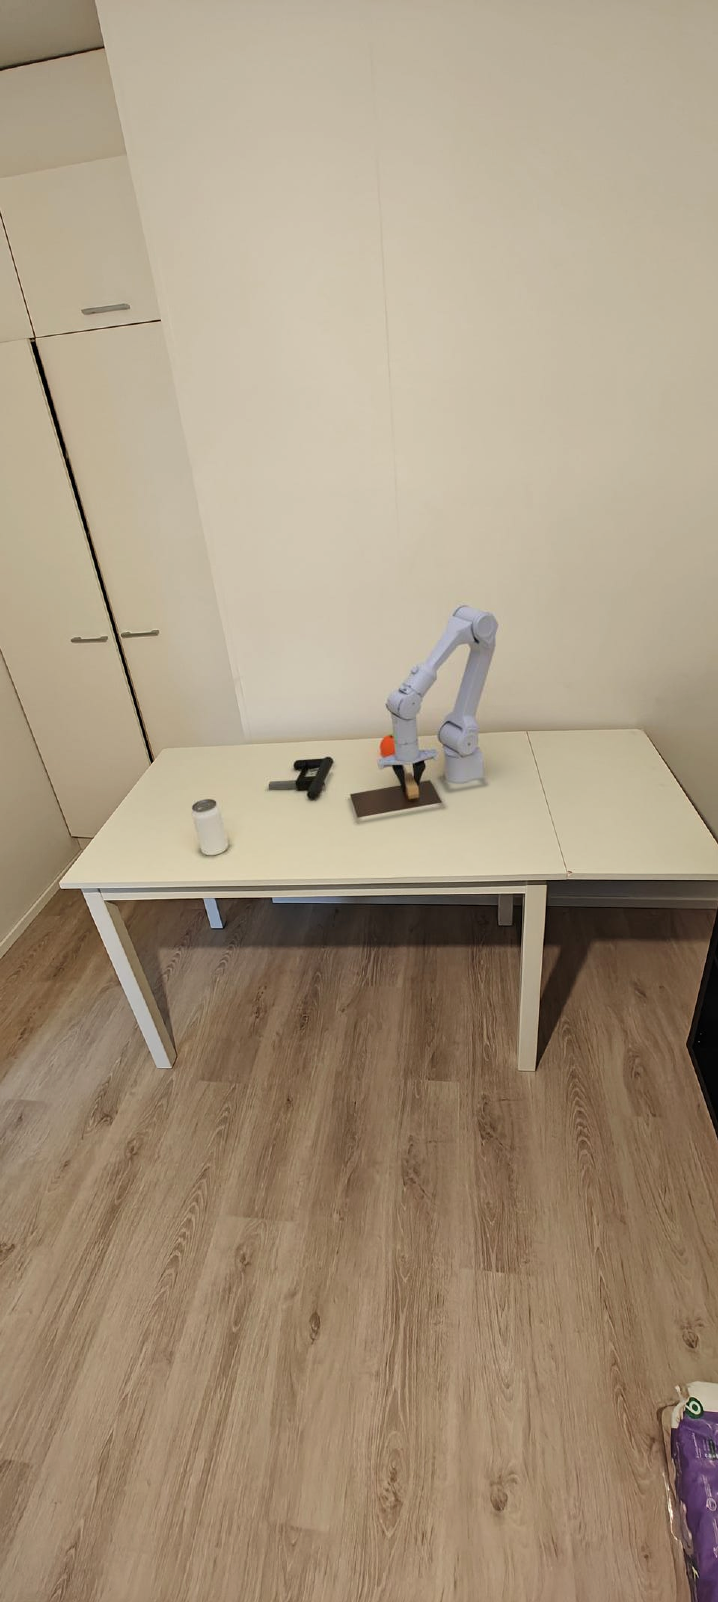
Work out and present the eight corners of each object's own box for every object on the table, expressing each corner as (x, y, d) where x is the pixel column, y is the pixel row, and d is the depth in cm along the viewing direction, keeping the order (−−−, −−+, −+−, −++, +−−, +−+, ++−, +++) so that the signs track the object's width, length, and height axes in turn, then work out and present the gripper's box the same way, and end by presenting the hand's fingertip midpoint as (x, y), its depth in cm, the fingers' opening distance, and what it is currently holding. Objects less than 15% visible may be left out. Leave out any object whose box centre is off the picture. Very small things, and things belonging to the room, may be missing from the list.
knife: (419, 797, 173) (418, 786, 171) (408, 799, 173) (407, 788, 171) (403, 764, 189) (402, 754, 187) (393, 766, 188) (392, 756, 187)
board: (430, 785, 183) (430, 779, 183) (442, 807, 173) (442, 802, 172) (350, 799, 181) (349, 794, 181) (358, 822, 171) (357, 817, 170)
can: (203, 843, 171) (191, 800, 165) (229, 839, 171) (219, 796, 165) (200, 858, 165) (188, 814, 159) (227, 854, 165) (216, 810, 159)
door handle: (261, 792, 184) (320, 789, 180) (282, 757, 201) (337, 754, 197) (264, 803, 186) (322, 801, 182) (285, 768, 203) (339, 764, 199)
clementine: (392, 749, 204) (389, 726, 200) (412, 753, 200) (410, 730, 196) (376, 760, 198) (373, 737, 195) (397, 765, 195) (394, 742, 191)
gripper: (431, 727, 173) (434, 776, 180) (373, 737, 172) (378, 786, 179) (438, 739, 167) (441, 789, 174) (378, 750, 166) (384, 800, 173)
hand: (410, 789), depth 176 cm, fingers closed on knife, 2 cm apart
